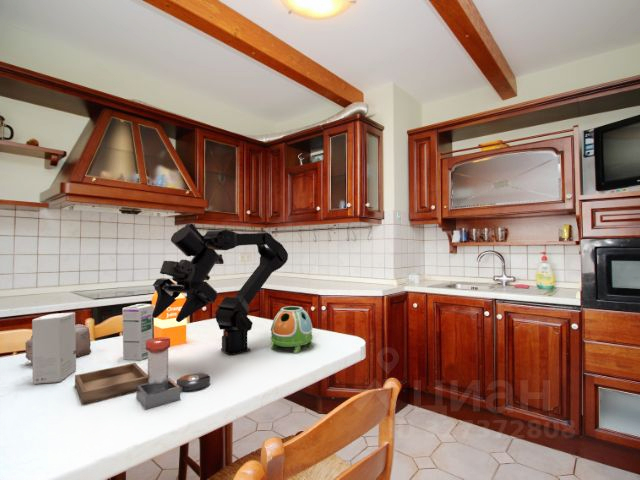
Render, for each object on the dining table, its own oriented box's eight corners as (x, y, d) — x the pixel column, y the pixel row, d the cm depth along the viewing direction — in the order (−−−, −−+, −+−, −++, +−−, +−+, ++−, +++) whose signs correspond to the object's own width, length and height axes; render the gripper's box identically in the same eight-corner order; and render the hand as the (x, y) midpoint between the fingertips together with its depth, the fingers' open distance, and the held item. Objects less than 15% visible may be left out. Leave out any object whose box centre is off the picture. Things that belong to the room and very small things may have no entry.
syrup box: (140, 361, 95) (140, 307, 96) (122, 359, 97) (122, 306, 97) (154, 354, 101) (154, 303, 101) (136, 353, 102) (136, 303, 102)
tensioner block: (202, 376, 84) (202, 366, 84) (218, 388, 77) (218, 376, 77) (133, 394, 74) (133, 382, 74) (145, 409, 67) (145, 396, 67)
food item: (39, 369, 90) (40, 330, 90) (22, 365, 93) (22, 327, 93) (93, 354, 102) (93, 320, 102) (76, 350, 105) (76, 317, 106)
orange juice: (175, 338, 119) (175, 278, 119) (186, 343, 112) (186, 280, 113) (151, 342, 113) (151, 280, 113) (161, 348, 107) (161, 282, 107)
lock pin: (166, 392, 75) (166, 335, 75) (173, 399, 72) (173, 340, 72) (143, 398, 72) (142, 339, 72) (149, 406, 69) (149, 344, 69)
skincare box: (60, 382, 81) (60, 317, 81) (30, 385, 79) (30, 319, 80) (77, 370, 89) (77, 311, 89) (49, 372, 88) (49, 312, 88)
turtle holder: (323, 339, 116) (323, 303, 116) (301, 355, 99) (301, 313, 99) (289, 336, 120) (289, 301, 121) (262, 351, 104) (262, 310, 104)
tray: (135, 373, 87) (135, 362, 87) (149, 388, 77) (149, 376, 77) (74, 386, 79) (75, 375, 79) (82, 405, 69) (82, 392, 69)
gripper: (157, 248, 93) (118, 297, 85) (204, 248, 83) (166, 304, 75) (184, 273, 100) (151, 321, 92) (231, 275, 91) (198, 330, 82)
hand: (165, 319), depth 85 cm, fingers open, 9 cm apart
